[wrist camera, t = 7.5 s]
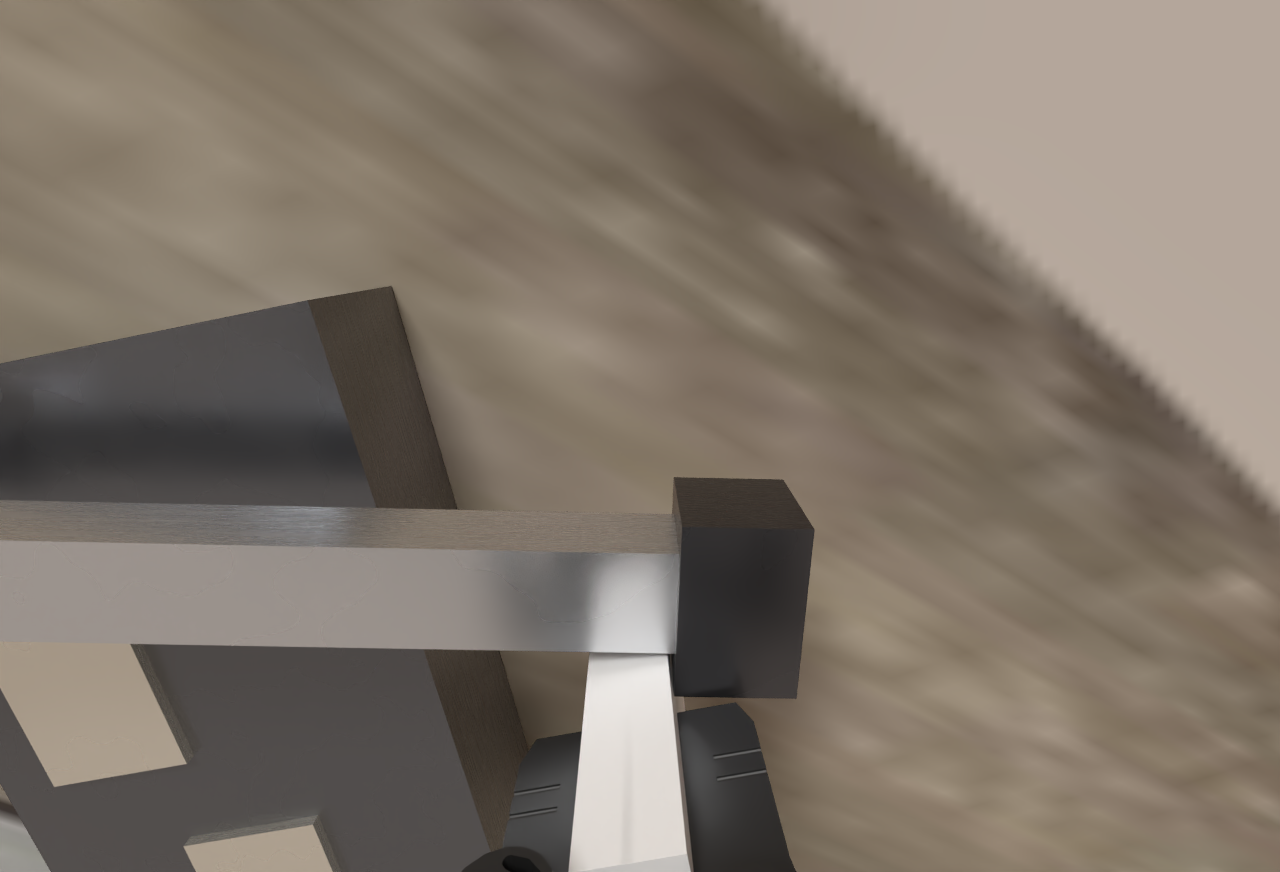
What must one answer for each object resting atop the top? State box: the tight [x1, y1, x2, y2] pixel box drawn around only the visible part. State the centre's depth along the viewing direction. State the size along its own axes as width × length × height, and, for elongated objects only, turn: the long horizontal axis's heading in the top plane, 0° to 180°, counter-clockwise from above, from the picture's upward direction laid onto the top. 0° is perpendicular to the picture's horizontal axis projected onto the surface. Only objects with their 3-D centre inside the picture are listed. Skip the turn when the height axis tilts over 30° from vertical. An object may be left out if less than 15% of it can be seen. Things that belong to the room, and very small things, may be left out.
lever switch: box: [0, 286, 529, 872], centre depth 18 cm, size 22×12×8 cm, turn 11°
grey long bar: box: [0, 477, 814, 699], centre depth 11 cm, size 21×3×2 cm, turn 89°
